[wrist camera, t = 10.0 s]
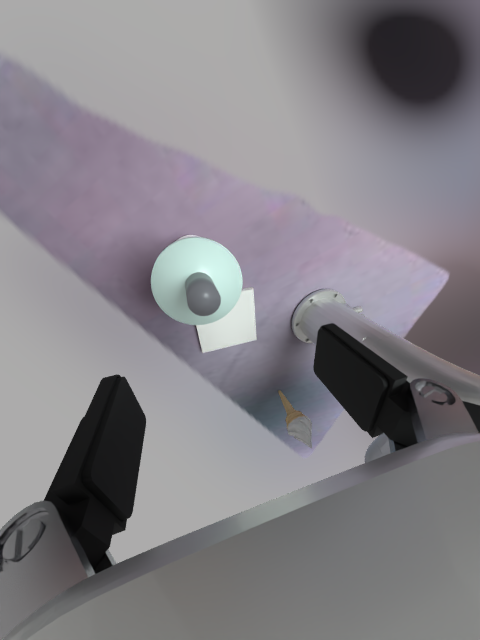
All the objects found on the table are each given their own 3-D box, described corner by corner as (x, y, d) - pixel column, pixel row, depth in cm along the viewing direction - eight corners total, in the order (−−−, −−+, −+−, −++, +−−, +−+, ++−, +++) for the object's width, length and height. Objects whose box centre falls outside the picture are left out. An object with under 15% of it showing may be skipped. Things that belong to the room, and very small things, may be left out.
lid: (234, 230, 20) (251, 236, 15) (243, 311, 24) (257, 332, 20) (138, 244, 18) (126, 255, 14) (166, 328, 23) (164, 356, 18)
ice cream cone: (290, 392, 54) (325, 449, 41) (270, 401, 53) (300, 461, 41) (286, 379, 51) (323, 435, 38) (266, 388, 50) (297, 448, 38)
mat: (251, 287, 36) (253, 289, 35) (254, 337, 42) (256, 339, 41) (190, 299, 34) (190, 301, 33) (202, 350, 40) (202, 353, 39)
